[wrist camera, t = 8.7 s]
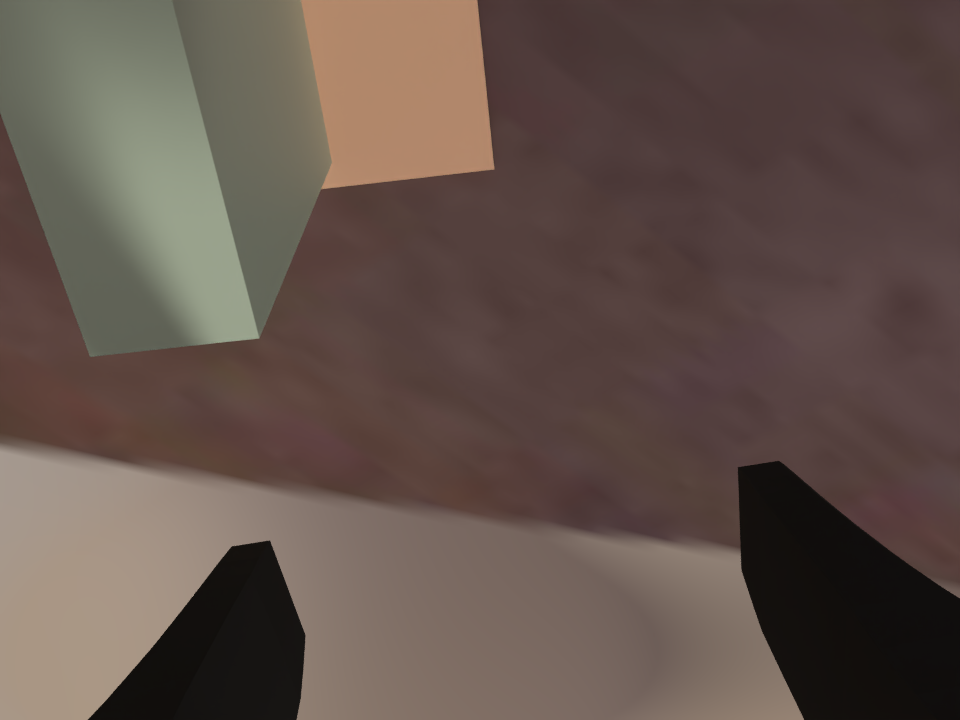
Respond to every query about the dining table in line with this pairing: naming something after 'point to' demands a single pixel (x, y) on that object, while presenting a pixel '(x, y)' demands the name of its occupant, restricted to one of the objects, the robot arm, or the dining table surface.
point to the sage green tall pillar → (165, 158)
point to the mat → (400, 88)
